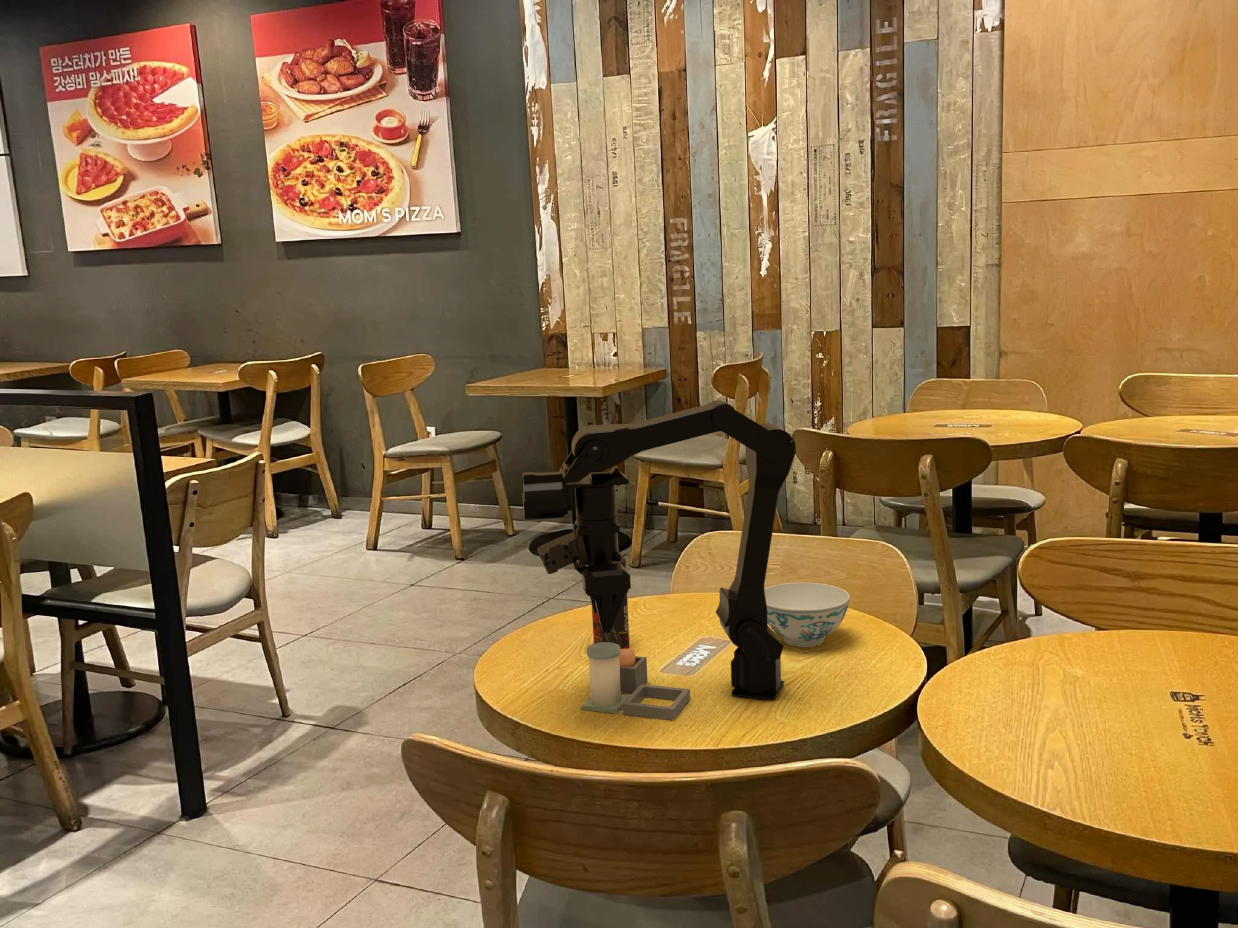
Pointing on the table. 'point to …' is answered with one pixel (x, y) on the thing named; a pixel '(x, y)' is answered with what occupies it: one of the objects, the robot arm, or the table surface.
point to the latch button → (627, 657)
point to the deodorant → (620, 625)
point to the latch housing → (633, 675)
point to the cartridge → (604, 673)
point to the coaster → (609, 709)
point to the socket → (656, 711)
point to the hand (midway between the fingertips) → (601, 622)
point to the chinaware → (805, 611)
